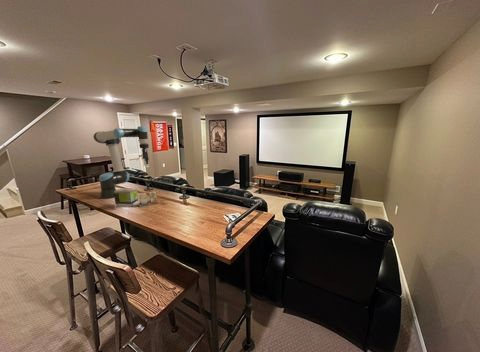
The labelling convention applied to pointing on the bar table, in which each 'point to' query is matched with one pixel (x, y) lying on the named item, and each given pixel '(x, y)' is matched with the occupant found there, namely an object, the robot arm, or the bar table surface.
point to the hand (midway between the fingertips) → (146, 166)
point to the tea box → (126, 197)
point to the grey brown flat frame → (148, 204)
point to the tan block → (143, 198)
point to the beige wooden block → (152, 197)
